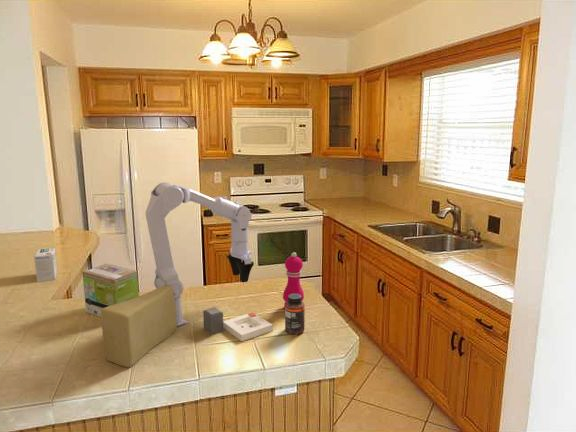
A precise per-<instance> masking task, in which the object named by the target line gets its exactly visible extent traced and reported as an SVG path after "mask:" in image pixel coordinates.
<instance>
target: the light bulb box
mask: <svg viewBox="0 0 576 432" xmlns="http://www.w3.org/2000/svg"><path fill="white" fill-rule="evenodd" d="M56 257H57V256H56V250H55V247H51V248H50V247H49V248H40V249H36V252H35V255H34V259H33V260H34V268H35V274H36V275H35V276H36V281H37V282H38V283H39V282H47V281H48V282H49V281H55V280H56V277H57V273H58V269H57V258H56Z"/></svg>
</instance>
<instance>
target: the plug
mask: <svg viewBox="0 0 576 432" xmlns="http://www.w3.org/2000/svg"><path fill="white" fill-rule="evenodd" d="M202 317H203V329H204V330H205V331H206V332H208V334H210V335H211V336H212V334H213V335H215V333H216V334H218V333H222V332H224V328H223V321H224V313H223V311H221V310H219V309H218V308H216V306H215V307H214V306H213V307H211V308H207V309H203V310H202Z"/></svg>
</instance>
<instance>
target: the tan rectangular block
mask: <svg viewBox="0 0 576 432" xmlns="http://www.w3.org/2000/svg"><path fill="white" fill-rule="evenodd" d="M100 319H101V328H102V329H101V330H102V338H103V346H104V347H103V348H104V349H103V350H104V356H105V357H104V358H105V359H106V361H109V362H111V363H114V364H117V365H119V366H122V367H125V368H131V367H132V366H134V365H135V364H136V363H137V362H138V361H139V360H141V358H143V357H144V356H145V355H146V354H147V353H148V352H150V351H151V350H152V349H154V348H155V347H156V346H157V345H159V344H160V343H162V342H163V341H165V340H166V339H168V338H169V337H171V335H173V334H175V333H176V331H177V330H178V328H177V327H178V326H177V324H176V307H175V300H174V293H173V287H172V286H162V287H160V288H158V289H157V288H155V289H154V290H151V291H148V292H146V293H144V294H141V295H139V297H136V298H134V299H131V300H128V301H125V302H122V303H118V304H115V305H111V306H108V307H105V308H103V309H101V316H100Z"/></svg>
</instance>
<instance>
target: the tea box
mask: <svg viewBox="0 0 576 432" xmlns="http://www.w3.org/2000/svg"><path fill="white" fill-rule="evenodd" d="M81 274H82V281H83V292H84V302H85V311H86V313H89V314H92V315H95V316H98V317H101V309H103V308H105V307H108V306H111V305H115V304H118V303H122V302H125V301H128V300H131V299H134V298H136V297H139V296H140V294H139V280H138V279H139V278H138V270H135V269H131V268H130V269H129V268H127V267H126V268H125V267H122V266H118V265H114V264H109V263H104V264H101V265H99V266H96V267H93V268H91V269H87V270H84V271H82V273H81Z"/></svg>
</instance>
